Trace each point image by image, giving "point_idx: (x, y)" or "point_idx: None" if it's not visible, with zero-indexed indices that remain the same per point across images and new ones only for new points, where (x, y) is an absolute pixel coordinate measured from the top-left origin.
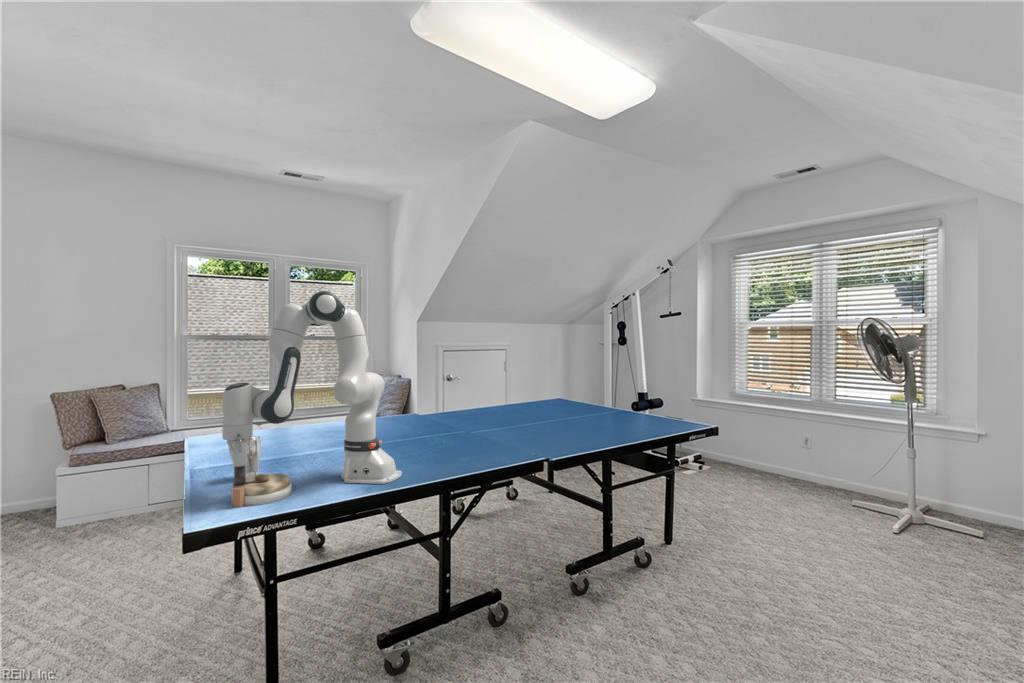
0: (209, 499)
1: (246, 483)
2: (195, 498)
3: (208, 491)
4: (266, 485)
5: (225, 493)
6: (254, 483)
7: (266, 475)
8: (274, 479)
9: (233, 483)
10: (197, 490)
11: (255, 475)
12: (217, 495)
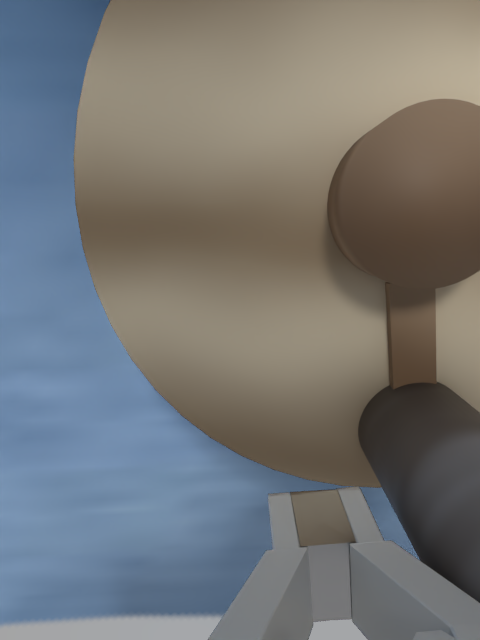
0: (245, 540)
1: (435, 371)
2: (182, 607)
3: (54, 554)
4: None
5: (150, 460)
6: (462, 288)
7: (410, 130)
8: (426, 33)
9: (334, 483)
10: (5, 609)
11: (107, 275)
12: (176, 503)
